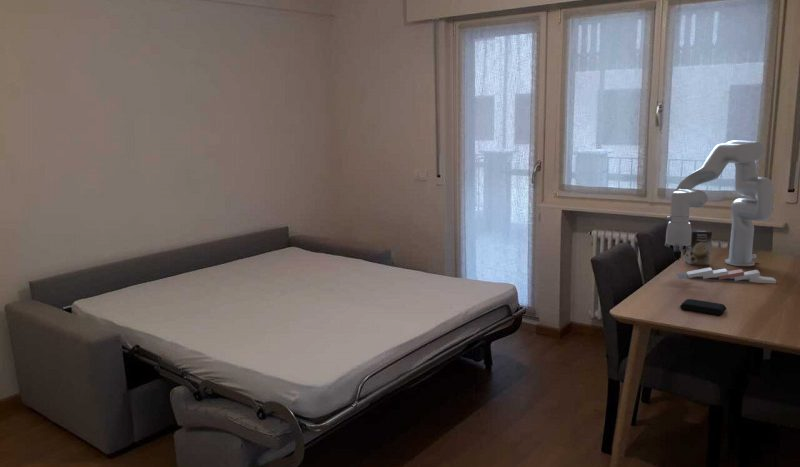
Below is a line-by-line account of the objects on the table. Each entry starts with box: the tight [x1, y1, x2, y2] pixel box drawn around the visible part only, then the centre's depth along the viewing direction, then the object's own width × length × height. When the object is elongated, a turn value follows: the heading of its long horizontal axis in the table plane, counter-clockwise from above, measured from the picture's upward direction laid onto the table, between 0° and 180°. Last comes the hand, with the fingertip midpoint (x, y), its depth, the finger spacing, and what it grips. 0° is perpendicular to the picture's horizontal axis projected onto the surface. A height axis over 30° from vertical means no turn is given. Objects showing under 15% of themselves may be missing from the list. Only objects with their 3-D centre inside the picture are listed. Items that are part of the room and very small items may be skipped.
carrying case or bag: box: [679, 298, 727, 317], centre depth 231 cm, size 11×3×15 cm
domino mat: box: [676, 273, 756, 284], centre depth 272 cm, size 30×8×1 cm, turn 72°
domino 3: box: [733, 269, 761, 281], centre depth 268 cm, size 2×5×10 cm
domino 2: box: [702, 268, 729, 279], centre depth 272 cm, size 2×5×10 cm
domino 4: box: [747, 275, 777, 284], centre depth 266 cm, size 2×5×10 cm
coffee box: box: [684, 229, 713, 266], centre depth 299 cm, size 9×6×16 cm
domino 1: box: [686, 266, 714, 278], centre depth 273 cm, size 2×5×10 cm
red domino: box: [718, 268, 745, 280], centre depth 270 cm, size 2×5×10 cm
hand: (676, 259), depth 277 cm, fingers closed
